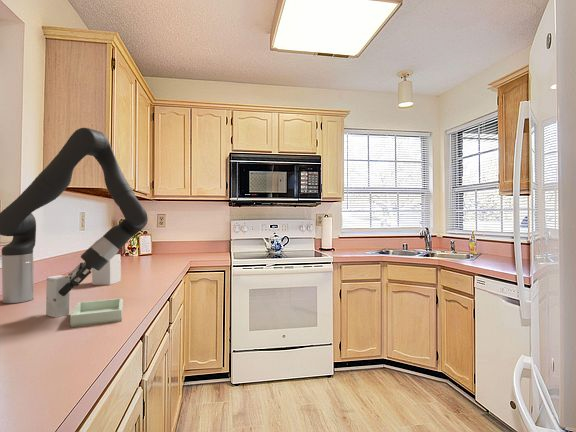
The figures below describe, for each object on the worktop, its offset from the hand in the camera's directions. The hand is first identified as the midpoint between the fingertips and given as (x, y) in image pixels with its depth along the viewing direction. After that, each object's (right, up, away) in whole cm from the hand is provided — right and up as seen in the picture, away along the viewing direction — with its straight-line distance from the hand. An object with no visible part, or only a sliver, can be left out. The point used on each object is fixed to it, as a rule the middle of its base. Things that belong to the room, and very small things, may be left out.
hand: (60, 291), depth 111 cm
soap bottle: (-11, -7, +50) cm, 51 cm away
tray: (+14, -7, -3) cm, 16 cm away
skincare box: (0, -7, 0) cm, 7 cm away
